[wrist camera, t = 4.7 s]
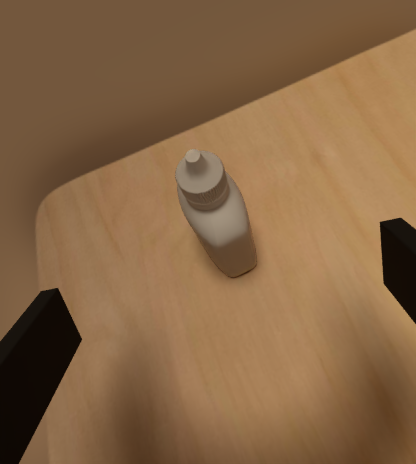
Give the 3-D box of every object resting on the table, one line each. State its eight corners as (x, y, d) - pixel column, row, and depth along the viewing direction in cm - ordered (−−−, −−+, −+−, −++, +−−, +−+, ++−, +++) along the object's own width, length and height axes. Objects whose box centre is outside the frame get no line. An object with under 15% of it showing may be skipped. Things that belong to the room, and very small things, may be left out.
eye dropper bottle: (258, 207, 28) (242, 101, 17) (256, 279, 26) (239, 212, 15) (202, 208, 29) (153, 107, 18) (196, 278, 27) (138, 214, 16)
